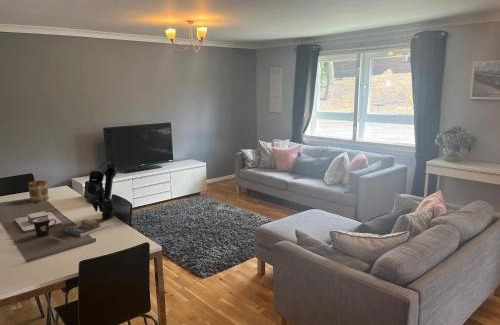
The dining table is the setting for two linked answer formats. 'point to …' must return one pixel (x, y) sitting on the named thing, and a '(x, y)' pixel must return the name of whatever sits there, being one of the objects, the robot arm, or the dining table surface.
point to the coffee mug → (42, 226)
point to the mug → (38, 191)
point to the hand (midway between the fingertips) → (100, 212)
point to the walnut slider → (90, 224)
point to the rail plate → (80, 232)
